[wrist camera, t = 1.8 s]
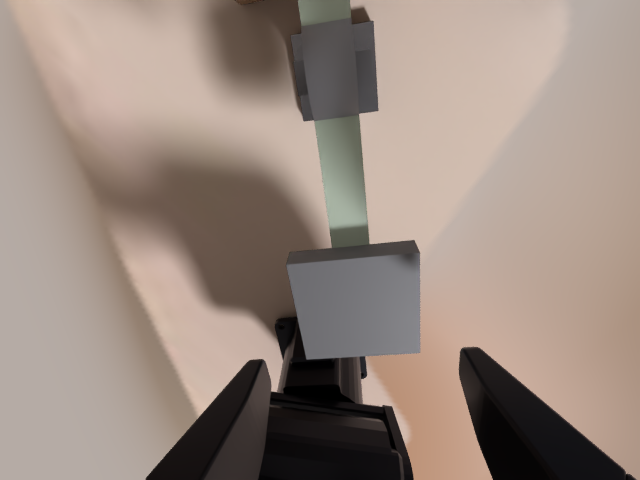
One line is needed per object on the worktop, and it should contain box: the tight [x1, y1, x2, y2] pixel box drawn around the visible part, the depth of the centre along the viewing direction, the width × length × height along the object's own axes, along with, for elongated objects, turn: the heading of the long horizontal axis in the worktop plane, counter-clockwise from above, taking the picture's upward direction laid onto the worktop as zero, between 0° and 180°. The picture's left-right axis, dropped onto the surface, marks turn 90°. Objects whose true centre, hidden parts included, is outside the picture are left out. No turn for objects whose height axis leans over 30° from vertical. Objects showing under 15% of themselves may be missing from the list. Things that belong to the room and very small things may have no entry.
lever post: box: [290, 21, 378, 121], centre depth 14 cm, size 4×4×8 cm
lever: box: [286, 0, 420, 360], centre depth 10 cm, size 19×4×6 cm, turn 8°
